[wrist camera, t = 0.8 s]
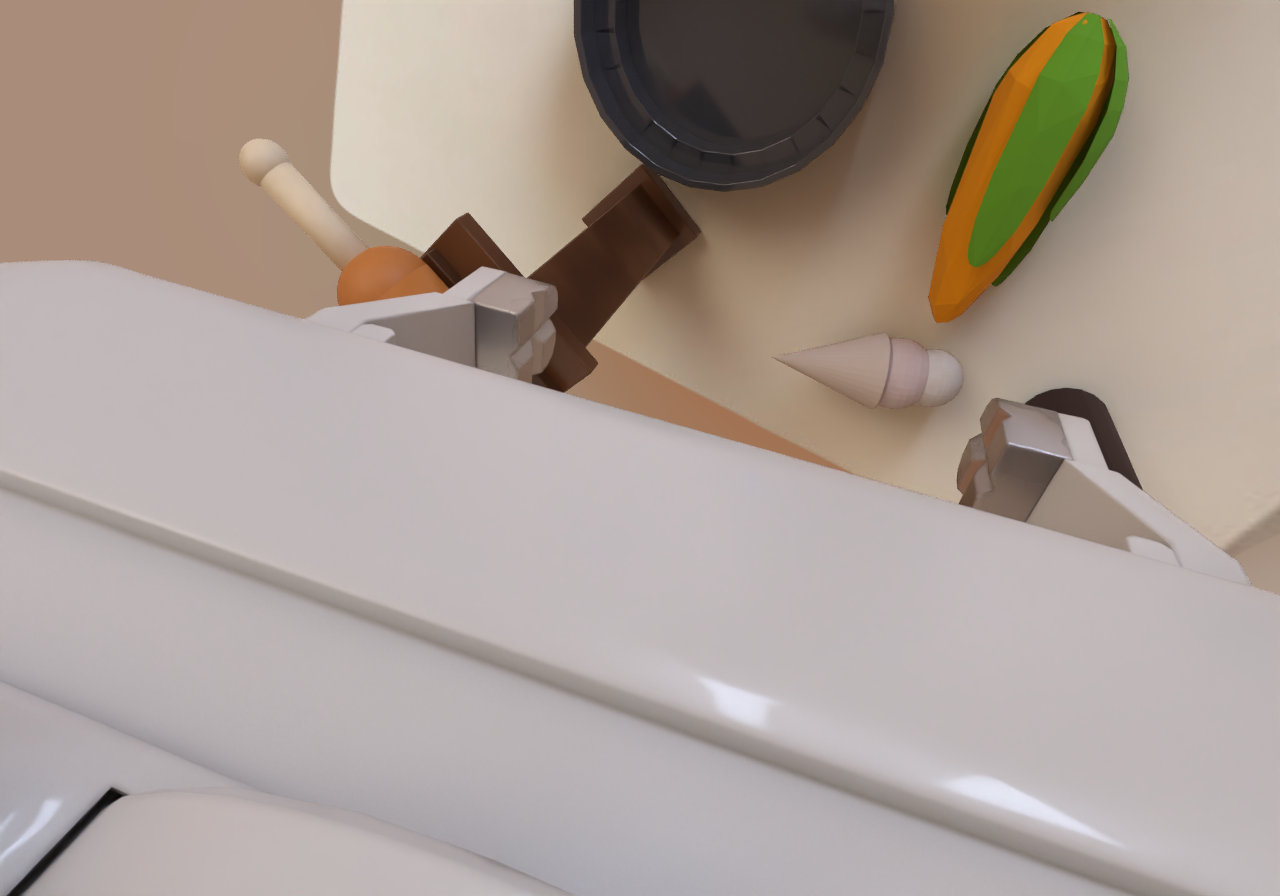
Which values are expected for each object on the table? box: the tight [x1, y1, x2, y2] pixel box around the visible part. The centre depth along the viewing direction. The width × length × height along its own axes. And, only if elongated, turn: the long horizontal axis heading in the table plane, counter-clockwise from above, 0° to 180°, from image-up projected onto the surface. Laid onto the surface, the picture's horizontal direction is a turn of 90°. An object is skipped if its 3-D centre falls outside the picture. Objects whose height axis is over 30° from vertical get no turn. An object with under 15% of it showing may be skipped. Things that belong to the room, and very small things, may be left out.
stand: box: [420, 163, 701, 393], centre depth 48 cm, size 10×8×27 cm
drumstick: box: [239, 139, 449, 306], centre depth 34 cm, size 15×5×5 cm, turn 42°
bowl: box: [574, 0, 896, 192], centre depth 46 cm, size 20×20×6 cm
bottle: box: [1025, 388, 1143, 491], centre depth 49 cm, size 7×7×20 cm
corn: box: [928, 12, 1129, 323], centre depth 46 cm, size 7×8×20 cm
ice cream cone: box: [772, 333, 963, 409], centre depth 56 cm, size 6×6×15 cm
